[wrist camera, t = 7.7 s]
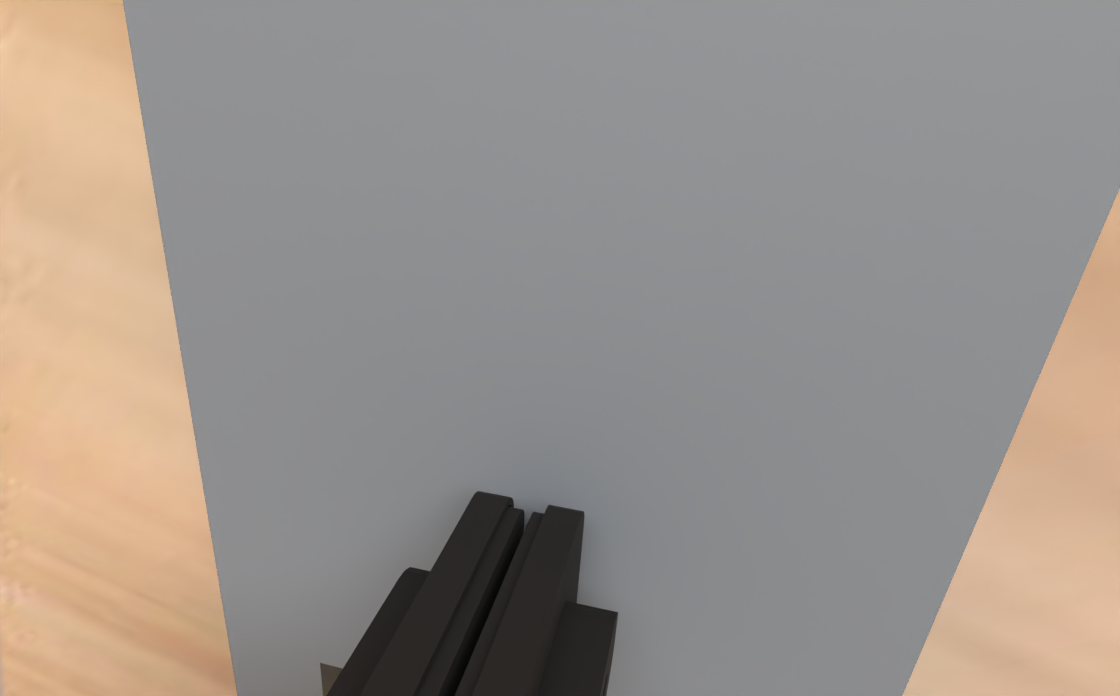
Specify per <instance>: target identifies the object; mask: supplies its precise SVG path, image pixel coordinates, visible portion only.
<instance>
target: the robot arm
mask: <svg viewBox="0 0 1120 696" xmlns="http://www.w3.org/2000/svg"><path fill="white" fill-rule="evenodd" d="M583 529H584V511H579V510H574V509H569V508H564V507H559V506H553V505H548V506H547V508H546V511H545V513H539V512H533V513H532V515H531V517H530V519H529V521H528V524H527V526H526V529H525V531H524V510H523V509H518V508H514V502H513V498H511V497H507V496H502V495H497V494H491V493H486V492H481V491H477V492H476V493H475V494H474V495H473V497H472V499H471V500H470V502H469V504H468V506H467V507H466V509H465V511H464V513H463V515H462V516H461V518H460V520H459V522H458V523H457V525H456V527H455V529H454V530H453V532H452V534H451V536H450V537H449V539H448V541H447V543H446V544H445V546H444V548H443V550H442V551H441V553H440V555H439V557H438V559H437V560H436V562H435V564H434V566H433V567H432V569H431V571H427V570H422V569H417V568H413V567H409V568H408V569H406V570H405V571H404V572H403V573H402V575H401V576H400V577H399V579H398V580H397V582H396V583H395V585H394V587H393V588H392V590H391V592H390V593H389V595H388V596H387V598H386V600H385V601H384V603H383V604H382V606H381V608H380V609H379V611H378V613H377V614H376V616H375V617H374V619H373V621H372V622H371V624H370V626H369V627H368V629H367V630H366V632H365V634H364V635H363V637H362V638H361V640H360V642H359V643H358V645H357V647H356V648H355V650H354V651H353V653H352V655H351V656H350V658H349V659H348V661H347V663H346V664H345V666H344V668H343V669H342V671H341V672H340V674H339V676H338V677H337V679H336V680H335V682H334V684H333V685H332V687H331V689H330V690H329V692H328V693H327V695H326V696H606V695H607V689H608V683H609V677H610V671H611V665H612V658H613V651H614V644H615V636H616V628H617V619H618V612H615V611H610V610H606V609H601V608H596V607H592V606H587V605H583V604H578V603H577V594H578V583H579V572H580V561H581V551H582V540H583Z"/></svg>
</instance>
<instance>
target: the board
mask: <svg viewBox="0 0 1120 696" xmlns="http://www.w3.org/2000/svg"><path fill="white" fill-rule="evenodd" d="M123 5H124V11H125V17H126V23H127V29H128V35H129V41H130V47H131V53H132V59H133V65H134V71H135V77H136V83H137V89H138V95H139V101H140V108H141V114H142V120H143V126H144V132H145V138H146V144H147V150H148V156H149V162H150V168H151V174H152V180H153V186H154V192H155V198H156V204H157V210H158V216H159V222H160V229H161V235H162V241H163V247H164V253H165V259H166V265H167V271H168V277H169V283H170V289H171V295H172V301H173V307H174V313H175V319H176V325H177V331H178V337H179V344H180V350H181V356H182V362H183V368H184V374H185V380H186V386H187V392H188V398H189V404H190V410H191V416H192V422H193V428H194V434H195V440H196V446H197V452H198V458H199V465H200V471H201V477H202V483H203V489H204V495H205V501H206V507H207V513H208V519H209V525H210V531H211V537H212V543H213V549H214V555H215V561H216V567H217V573H218V580H219V586H220V592H221V598H222V604H223V610H224V616H225V622H226V628H227V634H228V640H229V646H230V652H231V658H232V664H233V670H234V676H235V682H236V688H237V694H238V696H326V695H327V693H328V692H329V690H330V689H331V687H332V685H333V684H334V682H335V680H336V679H337V677H338V676H339V674H340V672H341V671H342V669H343V668H344V666H345V664H346V663H347V661H348V659H349V658H350V656H351V655H352V653H353V651H354V650H355V648H356V647H357V645H358V643H359V642H360V640H361V638H362V637H363V635H364V634H365V632H366V630H367V629H368V627H369V626H370V624H371V622H372V621H373V619H374V617H375V616H376V614H377V613H378V611H379V609H380V608H381V606H382V604H383V603H384V601H385V600H386V598H387V596H388V595H389V593H390V592H391V590H392V588H393V587H394V585H395V583H396V582H397V580H398V579H399V577H400V576H401V575H402V573H403V572H404V571H405V570H406V569H408V568H409V567H413V568H417V569H422V570H427V571H431V569H432V567H433V566H434V564H435V562H436V560H437V559H438V557H439V555H440V553H441V551H442V550H443V548H444V546H445V544H446V543H447V541H448V539H449V537H450V536H451V534H452V532H453V530H454V529H455V527H456V525H457V523H458V522H459V520H460V518H461V516H462V515H463V513H464V511H465V509H466V507H467V506H468V504H469V502H470V500H471V499H472V497H473V495H474V494H475V493H476V492H477V491H481V492H486V493H491V494H497V495H502V496H507V497H511V498H513V502H514V508H518V509H523V510H524V531H525V529H526V526H527V524H528V521H529V519H530V517H531V515H532V513H533V512H539V513H545V511H546V508H547V506H548V505H553V506H559V507H564V508H569V509H574V510H579V511H584V529H583V540H582V551H581V561H580V572H579V583H578V594H577V603H578V604H583V605H587V606H592V607H596V608H601V609H606V610H610V611H615V612H618V619H617V628H616V636H615V644H614V651H613V658H612V665H611V671H610V677H609V683H608V689H607V695H606V696H902V695H903V692H904V690H905V688H906V685H907V683H908V681H909V678H910V676H911V674H912V671H913V669H914V667H915V664H916V662H917V660H918V657H919V655H920V653H921V650H922V648H923V646H924V643H925V641H926V639H927V636H928V634H929V632H930V629H931V627H932V625H933V622H934V620H935V618H936V615H937V613H938V611H939V608H940V606H941V604H942V601H943V599H944V597H945V594H946V592H947V590H948V587H949V585H950V583H951V580H952V578H953V576H954V573H955V571H956V569H957V566H958V564H959V562H960V559H961V557H962V555H963V552H964V550H965V548H966V545H967V543H968V541H969V538H970V536H971V534H972V531H973V529H974V527H975V524H976V522H977V520H978V517H979V515H980V513H981V510H982V508H983V506H984V503H985V501H986V499H987V496H988V494H989V492H990V489H991V487H992V485H993V482H994V480H995V478H996V475H997V473H998V471H999V468H1000V466H1001V464H1002V461H1003V459H1004V457H1005V454H1006V452H1007V450H1008V447H1009V445H1010V443H1011V440H1012V438H1013V436H1014V433H1015V431H1016V429H1017V426H1018V424H1019V422H1020V419H1021V417H1022V415H1023V412H1024V410H1025V408H1026V405H1027V403H1028V401H1029V398H1030V396H1031V394H1032V391H1033V389H1034V387H1035V384H1036V382H1037V380H1038V377H1039V375H1040V373H1041V370H1042V368H1043V366H1044V363H1045V361H1046V359H1047V356H1048V354H1049V352H1050V349H1051V347H1052V345H1053V342H1054V340H1055V338H1056V335H1057V333H1058V331H1059V328H1060V326H1061V324H1062V321H1063V319H1064V317H1065V314H1066V312H1067V310H1068V307H1069V305H1070V303H1071V300H1072V298H1073V296H1074V293H1075V291H1076V289H1077V286H1078V284H1079V282H1080V279H1081V277H1082V275H1083V272H1084V270H1085V268H1086V265H1087V263H1088V261H1089V258H1090V256H1091V254H1092V251H1093V249H1094V247H1095V244H1096V242H1097V240H1098V237H1099V235H1100V233H1101V230H1102V228H1103V226H1104V223H1105V221H1106V219H1107V216H1108V214H1109V212H1110V209H1111V207H1112V205H1113V202H1114V200H1115V198H1116V195H1117V193H1118V191H1119V188H1120V0H123Z"/></svg>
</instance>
